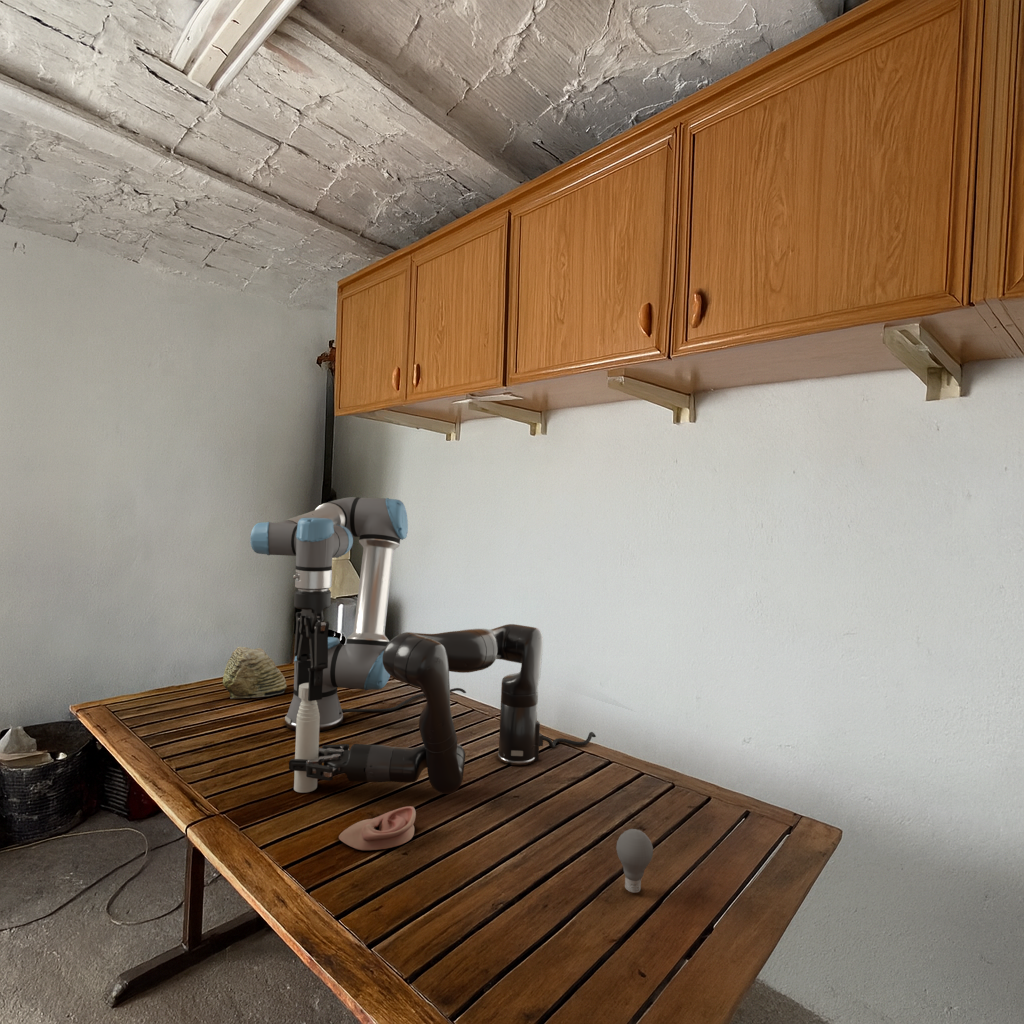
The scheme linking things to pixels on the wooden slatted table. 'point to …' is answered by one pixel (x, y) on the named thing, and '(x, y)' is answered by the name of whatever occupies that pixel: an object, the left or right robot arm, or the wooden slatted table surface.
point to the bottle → (306, 742)
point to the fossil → (252, 674)
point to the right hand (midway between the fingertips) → (294, 759)
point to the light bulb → (634, 857)
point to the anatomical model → (381, 830)
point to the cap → (303, 691)
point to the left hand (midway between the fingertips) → (309, 694)
